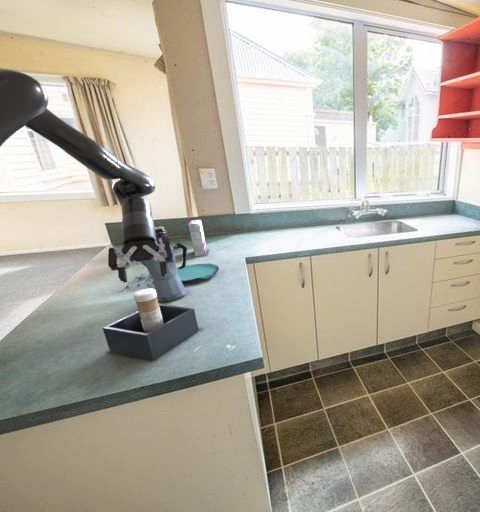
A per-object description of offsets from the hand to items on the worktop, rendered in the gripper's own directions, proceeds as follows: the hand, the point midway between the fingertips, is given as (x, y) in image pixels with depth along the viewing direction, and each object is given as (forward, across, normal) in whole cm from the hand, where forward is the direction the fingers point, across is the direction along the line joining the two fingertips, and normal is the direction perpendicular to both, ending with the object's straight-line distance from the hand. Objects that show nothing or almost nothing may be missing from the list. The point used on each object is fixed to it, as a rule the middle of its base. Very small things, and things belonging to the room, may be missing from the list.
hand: (144, 278), depth 82 cm
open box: (+17, +1, +4) cm, 18 cm away
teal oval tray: (-18, +5, +38) cm, 43 cm away
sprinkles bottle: (+17, +1, +3) cm, 17 cm away
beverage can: (-53, -2, +74) cm, 91 cm away
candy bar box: (-41, +14, +62) cm, 76 cm away
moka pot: (-4, +3, +25) cm, 26 cm away
